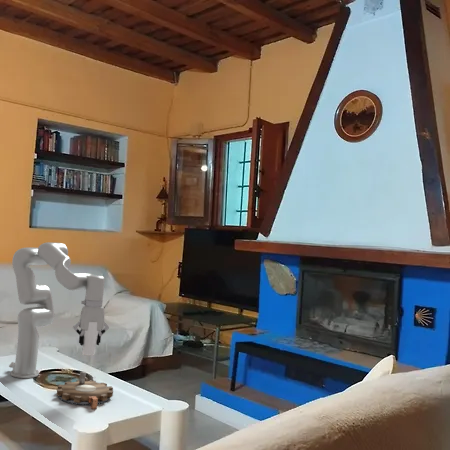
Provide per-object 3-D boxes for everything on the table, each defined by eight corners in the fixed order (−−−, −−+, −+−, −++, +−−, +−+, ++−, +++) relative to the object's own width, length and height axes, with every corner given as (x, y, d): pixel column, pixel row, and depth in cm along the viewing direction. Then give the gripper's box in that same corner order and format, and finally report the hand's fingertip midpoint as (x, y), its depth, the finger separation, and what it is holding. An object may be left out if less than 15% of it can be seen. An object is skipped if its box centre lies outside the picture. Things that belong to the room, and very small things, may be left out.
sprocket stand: (47, 397, 219) (48, 388, 219) (79, 384, 240) (80, 376, 240) (94, 410, 211) (95, 400, 211) (123, 395, 231) (124, 386, 231)
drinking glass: (92, 357, 224) (95, 322, 224) (77, 355, 225) (81, 320, 225) (98, 354, 231) (102, 320, 231) (84, 352, 232) (88, 318, 232)
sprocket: (52, 385, 230) (53, 370, 230) (104, 383, 242) (106, 368, 242) (62, 404, 210) (64, 387, 210) (119, 400, 221) (121, 384, 221)
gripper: (75, 304, 221) (70, 347, 221) (115, 305, 229) (111, 346, 229) (71, 301, 228) (67, 342, 227) (110, 302, 235) (106, 342, 235)
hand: (89, 344), depth 228 cm, fingers closed on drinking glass, 6 cm apart
